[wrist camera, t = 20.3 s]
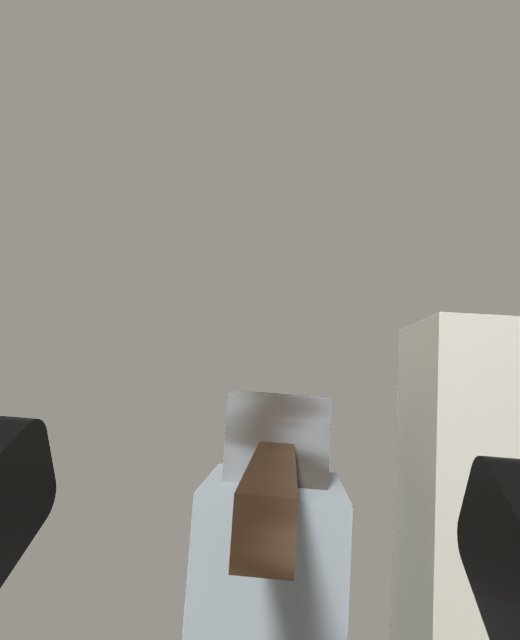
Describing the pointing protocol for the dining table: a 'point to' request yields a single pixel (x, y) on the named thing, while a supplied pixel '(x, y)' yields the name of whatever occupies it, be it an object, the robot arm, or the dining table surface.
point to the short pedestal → (269, 594)
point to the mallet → (272, 475)
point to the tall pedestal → (446, 461)
